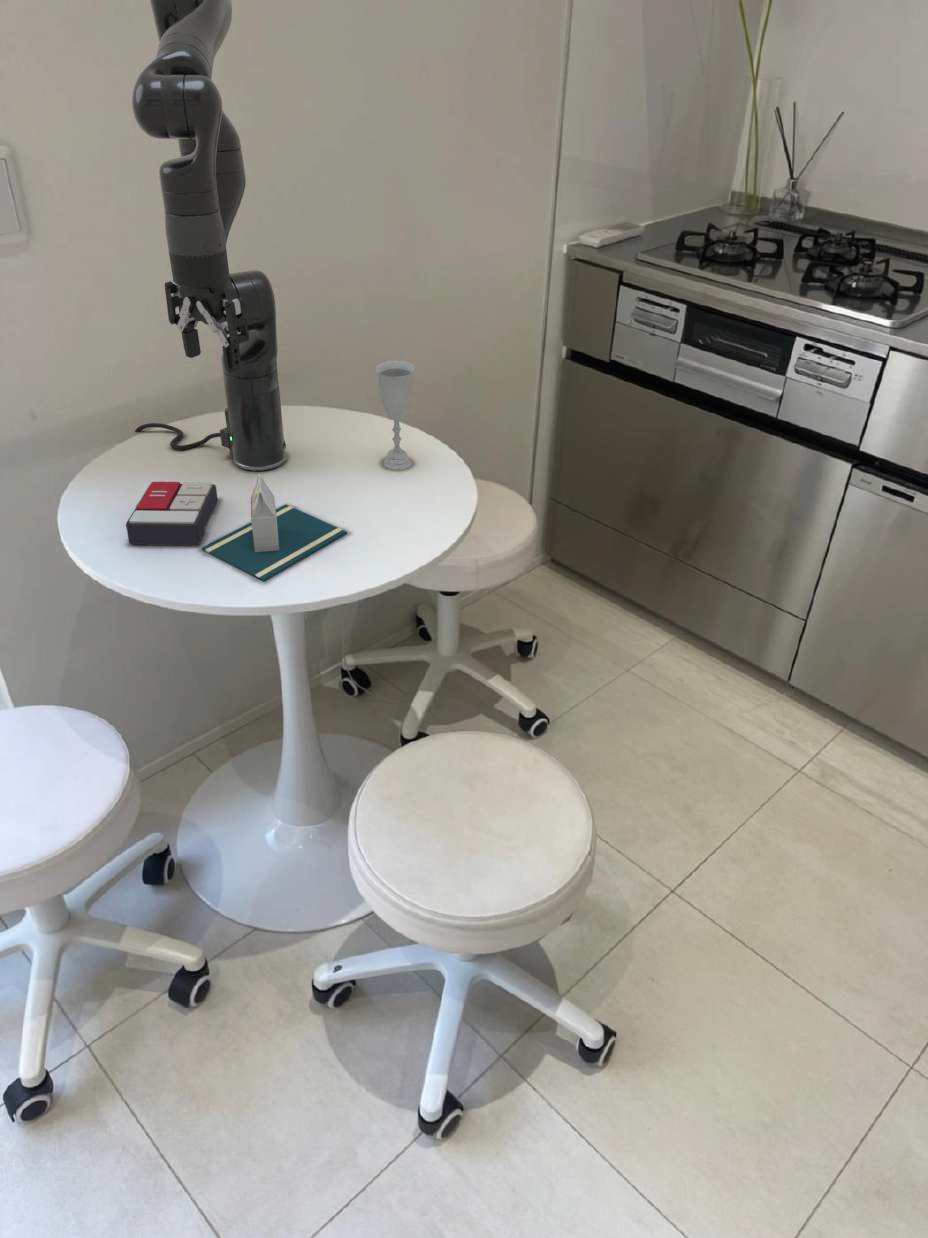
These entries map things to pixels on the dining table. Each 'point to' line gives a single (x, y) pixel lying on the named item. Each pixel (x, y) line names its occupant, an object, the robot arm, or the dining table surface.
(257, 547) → the white gable top carton
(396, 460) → the chalice
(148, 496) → the calculator
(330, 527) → the cloth
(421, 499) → the dining table surface
